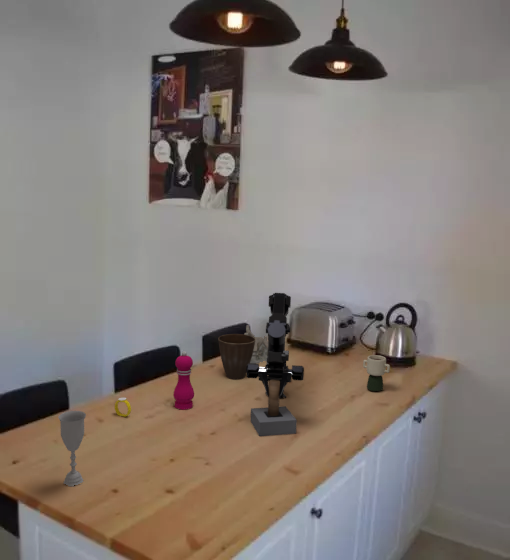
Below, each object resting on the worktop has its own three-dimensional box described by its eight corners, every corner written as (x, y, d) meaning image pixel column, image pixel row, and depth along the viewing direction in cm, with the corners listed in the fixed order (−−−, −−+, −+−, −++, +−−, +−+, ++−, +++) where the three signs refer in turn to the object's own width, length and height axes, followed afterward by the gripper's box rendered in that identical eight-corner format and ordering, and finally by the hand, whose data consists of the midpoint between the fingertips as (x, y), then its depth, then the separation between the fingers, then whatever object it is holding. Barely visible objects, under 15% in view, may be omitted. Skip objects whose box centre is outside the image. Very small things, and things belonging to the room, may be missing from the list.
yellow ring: (132, 416, 203) (132, 399, 202) (127, 419, 201) (127, 401, 200) (118, 412, 206) (118, 395, 205) (113, 415, 203) (112, 398, 202)
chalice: (63, 475, 162) (61, 410, 159) (89, 474, 163) (88, 410, 160) (56, 488, 155) (55, 421, 152) (84, 488, 155) (83, 421, 152)
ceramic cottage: (235, 362, 266) (238, 328, 264) (241, 353, 282) (245, 321, 280) (270, 367, 264) (274, 333, 262) (275, 358, 280) (278, 326, 278)
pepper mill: (190, 411, 209) (191, 355, 206) (170, 409, 210) (170, 353, 207) (196, 403, 216) (197, 349, 213) (177, 401, 217) (177, 347, 214)
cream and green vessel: (391, 390, 236) (393, 358, 234) (384, 395, 230) (386, 362, 228) (365, 384, 242) (367, 353, 240) (358, 389, 236) (359, 357, 234)
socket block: (250, 421, 202) (250, 408, 201) (285, 418, 205) (285, 406, 204) (259, 436, 190) (259, 422, 190) (296, 433, 193) (296, 419, 192)
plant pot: (261, 375, 249) (262, 337, 247) (240, 385, 237) (242, 345, 234) (231, 368, 257) (232, 332, 254) (210, 377, 245) (210, 339, 242)
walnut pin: (269, 411, 199) (270, 378, 197) (279, 412, 198) (281, 380, 196) (266, 415, 196) (267, 382, 194) (277, 416, 195) (278, 383, 193)
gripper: (247, 339, 197) (243, 383, 188) (305, 342, 196) (304, 386, 187) (248, 355, 206) (245, 398, 197) (303, 358, 205) (302, 401, 196)
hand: (273, 395), depth 194 cm, fingers closed on walnut pin, 3 cm apart
